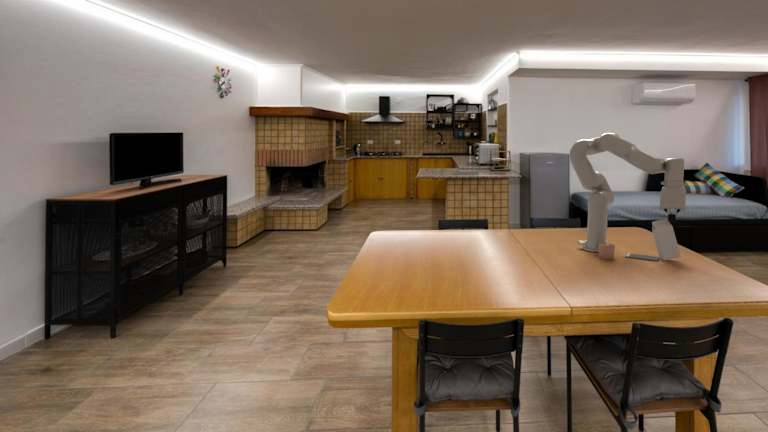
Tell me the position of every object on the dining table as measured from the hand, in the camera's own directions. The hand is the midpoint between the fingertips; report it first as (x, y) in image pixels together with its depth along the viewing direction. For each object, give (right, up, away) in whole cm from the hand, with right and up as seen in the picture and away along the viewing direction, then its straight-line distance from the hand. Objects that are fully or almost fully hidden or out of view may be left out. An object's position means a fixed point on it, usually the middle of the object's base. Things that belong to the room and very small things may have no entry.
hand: (671, 222), depth 215 cm
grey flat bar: (-9, -18, +9) cm, 22 cm away
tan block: (-27, -18, +8) cm, 34 cm away
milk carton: (+1, -18, +2) cm, 18 cm away
